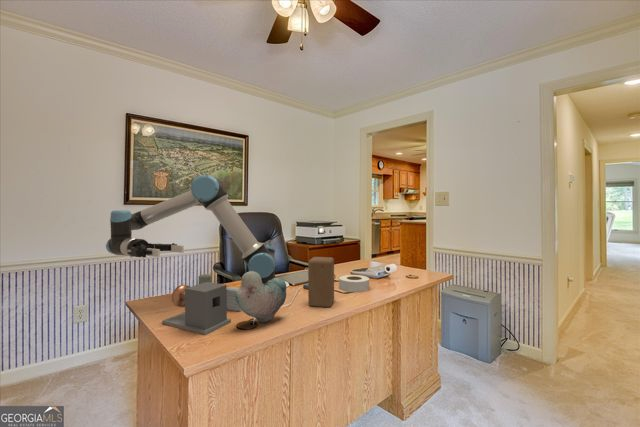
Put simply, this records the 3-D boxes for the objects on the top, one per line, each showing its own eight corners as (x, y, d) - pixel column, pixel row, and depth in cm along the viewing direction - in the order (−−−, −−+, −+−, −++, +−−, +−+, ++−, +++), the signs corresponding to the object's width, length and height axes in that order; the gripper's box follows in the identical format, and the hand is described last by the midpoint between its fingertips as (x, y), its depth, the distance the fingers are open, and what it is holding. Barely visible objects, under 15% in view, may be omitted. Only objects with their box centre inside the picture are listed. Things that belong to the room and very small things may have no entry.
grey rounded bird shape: (279, 312, 120) (279, 263, 120) (292, 319, 113) (292, 267, 113) (230, 326, 107) (230, 271, 106) (241, 334, 100) (241, 275, 99)
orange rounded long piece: (171, 309, 110) (171, 287, 110) (189, 302, 117) (189, 282, 117) (198, 315, 104) (198, 292, 103) (215, 307, 111) (215, 286, 111)
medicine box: (246, 308, 125) (245, 288, 125) (239, 312, 121) (239, 291, 121) (230, 306, 128) (229, 286, 128) (223, 309, 124) (223, 289, 124)
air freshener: (217, 292, 148) (217, 272, 148) (217, 297, 141) (216, 276, 140) (193, 294, 145) (193, 274, 145) (192, 299, 137) (192, 278, 137)
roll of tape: (340, 283, 165) (340, 274, 164) (368, 284, 162) (368, 274, 162) (338, 292, 149) (338, 281, 149) (369, 293, 147) (369, 282, 147)
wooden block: (330, 308, 125) (330, 261, 125) (307, 306, 127) (307, 260, 127) (334, 300, 135) (334, 257, 134) (313, 299, 137) (312, 256, 136)
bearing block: (162, 323, 109) (161, 285, 109) (189, 313, 120) (188, 278, 120) (205, 335, 100) (205, 293, 99) (230, 322, 110) (230, 284, 110)
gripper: (160, 252, 135) (195, 256, 125) (106, 261, 115) (143, 266, 105) (159, 236, 135) (194, 238, 125) (106, 241, 114) (143, 244, 105)
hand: (171, 251), depth 115 cm, fingers open, 10 cm apart
